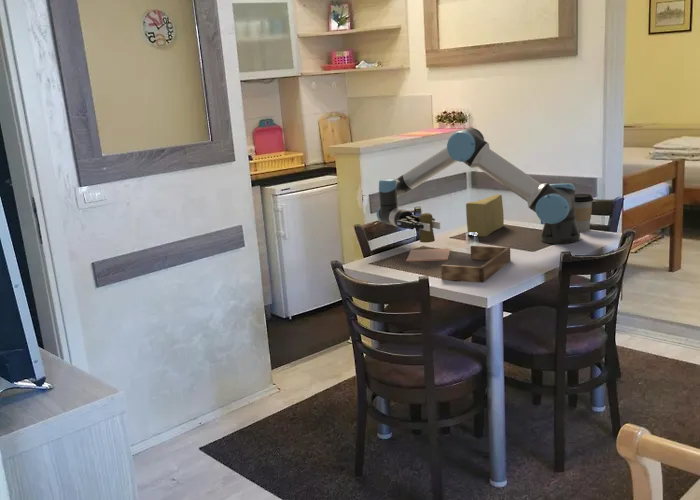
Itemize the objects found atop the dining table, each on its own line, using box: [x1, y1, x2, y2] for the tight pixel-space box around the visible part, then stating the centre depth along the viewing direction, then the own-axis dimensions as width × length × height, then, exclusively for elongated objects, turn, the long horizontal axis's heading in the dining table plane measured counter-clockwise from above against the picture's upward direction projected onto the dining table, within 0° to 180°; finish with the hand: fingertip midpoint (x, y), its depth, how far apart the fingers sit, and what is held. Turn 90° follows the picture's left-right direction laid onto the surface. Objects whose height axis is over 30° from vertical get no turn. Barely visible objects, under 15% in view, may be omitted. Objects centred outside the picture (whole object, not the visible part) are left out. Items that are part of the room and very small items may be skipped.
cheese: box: [465, 194, 505, 238], centre depth 303 cm, size 22×10×15 cm, turn 137°
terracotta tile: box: [405, 247, 451, 263], centre depth 273 cm, size 16×16×1 cm
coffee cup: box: [575, 193, 594, 233], centre depth 289 cm, size 9×9×15 cm
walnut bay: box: [440, 245, 511, 283], centre depth 247 cm, size 15×28×5 cm, turn 148°
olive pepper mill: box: [418, 212, 436, 244], centre depth 270 cm, size 6×6×11 cm
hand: (434, 226), depth 265 cm, fingers closed on olive pepper mill, 4 cm apart
